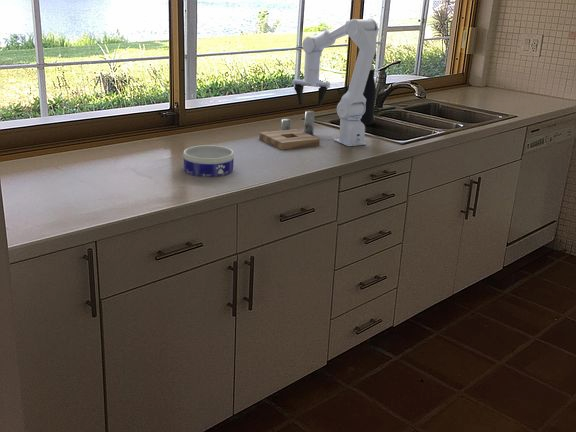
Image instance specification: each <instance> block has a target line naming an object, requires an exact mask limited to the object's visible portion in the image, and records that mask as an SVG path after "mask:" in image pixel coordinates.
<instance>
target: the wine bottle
mask: <svg viewBox="0 0 576 432" xmlns="http://www.w3.org/2000/svg"><path fill="white" fill-rule="evenodd" d="M376 56H377V51H376V52H375V55H374V58H373V62H372V65H371V69H370V72H369V75H368V79H367V82H366V86H365V89H364V92H363V96H364V97H365V98H366V104H365V106H366V110H365V113H364V114H363V115H362V118H361V119H360V120H361V122H362V123H363V124H364V126H371V125H373V124H374V123H373V122H374V112H375V103H376V102H375V101H376V91H377V87H376V86H377V85H376V81H375V65H374V60H376V58H377V57H376Z"/></svg>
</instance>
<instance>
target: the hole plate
mask: <svg viewBox="0 0 576 432" xmlns="http://www.w3.org/2000/svg"><path fill="white" fill-rule="evenodd" d="M258 136H259V137H258V139H259V140H260V141H263V142H264V143H266V144H268V145H271V146H272V147H275V148H276V149H279V150H280V151H282V150H292V149H300V148H309V147H318V146H320V141H321V139H320V138H318V137H317V136H314V135H313V136H312V135H310V134H307V133H305V132H304V131H302V130H300V129H297V128H295V129H294V128H293V129H292V128H291V130H281V129H280V130H272V131H262V132H261V131H260V132H259V135H258Z"/></svg>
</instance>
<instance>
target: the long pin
mask: <svg viewBox="0 0 576 432" xmlns="http://www.w3.org/2000/svg"><path fill="white" fill-rule="evenodd" d="M315 114H316V113H315V111H314V110H305V112H304V126H303V132H305V133H307V134H310V135H312V136H314V127H315Z"/></svg>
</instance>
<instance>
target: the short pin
mask: <svg viewBox="0 0 576 432" xmlns="http://www.w3.org/2000/svg"><path fill="white" fill-rule="evenodd" d="M280 128H281V129H280V131H281V130H292V119H290V118H282V119H281V127H280Z"/></svg>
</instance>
